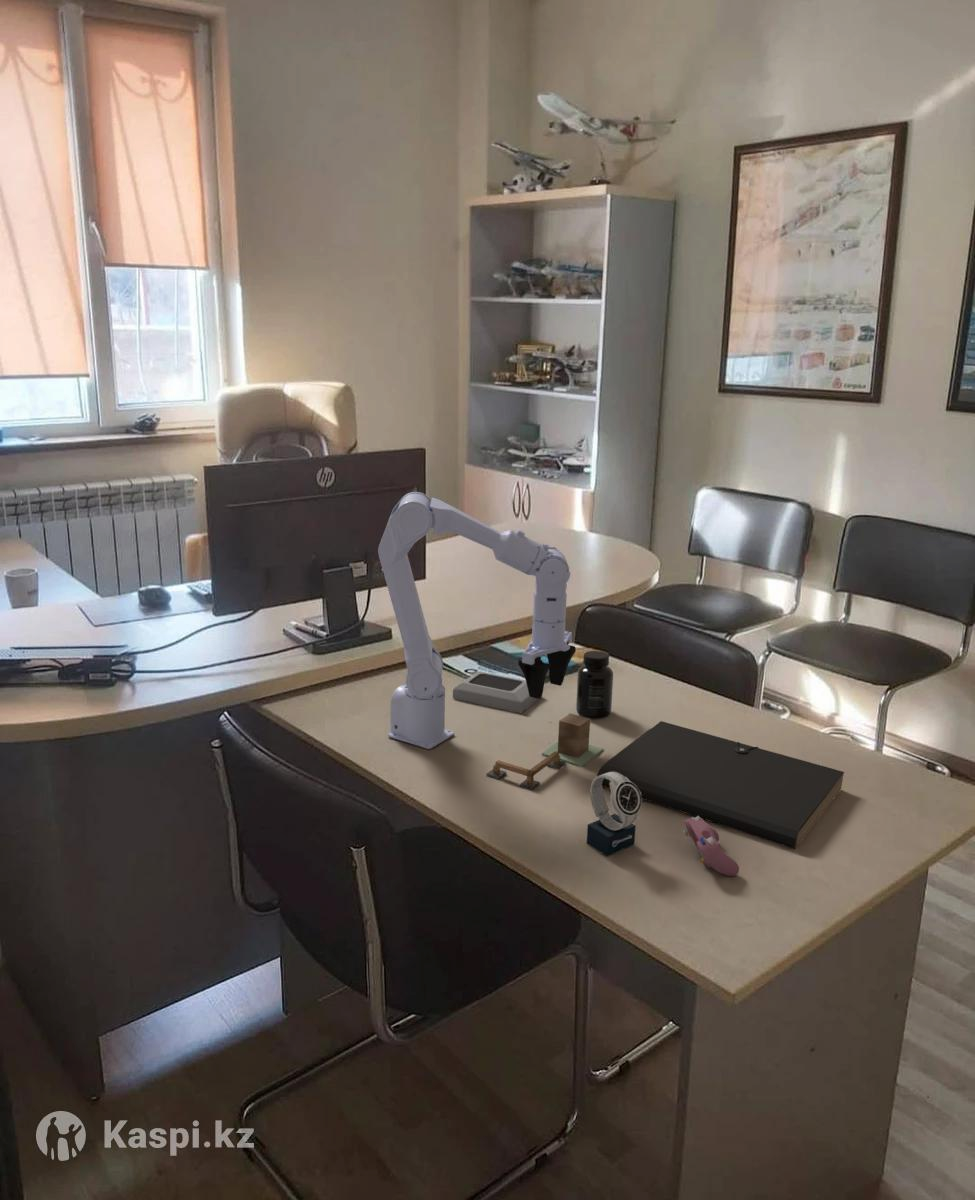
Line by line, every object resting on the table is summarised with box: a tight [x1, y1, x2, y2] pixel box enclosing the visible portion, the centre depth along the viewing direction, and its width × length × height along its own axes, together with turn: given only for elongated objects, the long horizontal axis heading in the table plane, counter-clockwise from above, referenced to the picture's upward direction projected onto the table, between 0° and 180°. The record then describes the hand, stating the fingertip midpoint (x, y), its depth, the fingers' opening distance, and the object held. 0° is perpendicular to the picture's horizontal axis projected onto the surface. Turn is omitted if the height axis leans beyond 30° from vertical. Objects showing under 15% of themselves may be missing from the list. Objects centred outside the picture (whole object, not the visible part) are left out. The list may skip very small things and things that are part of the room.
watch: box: [586, 772, 643, 857], centre depth 142 cm, size 6×8×11 cm
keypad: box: [452, 670, 538, 714], centre depth 196 cm, size 10×4×15 cm
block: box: [557, 713, 591, 758], centre depth 172 cm, size 4×4×6 cm
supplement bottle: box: [575, 650, 614, 720], centre depth 188 cm, size 7×7×12 cm
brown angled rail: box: [486, 751, 567, 791], centre depth 165 cm, size 9×11×2 cm
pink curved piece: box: [682, 816, 740, 877], centre depth 139 cm, size 10×5×7 cm, turn 6°
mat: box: [541, 741, 604, 768], centre depth 173 cm, size 8×8×1 cm
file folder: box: [596, 720, 845, 850], centre depth 161 cm, size 33×4×24 cm
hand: (545, 690), depth 175 cm, fingers open, 7 cm apart
